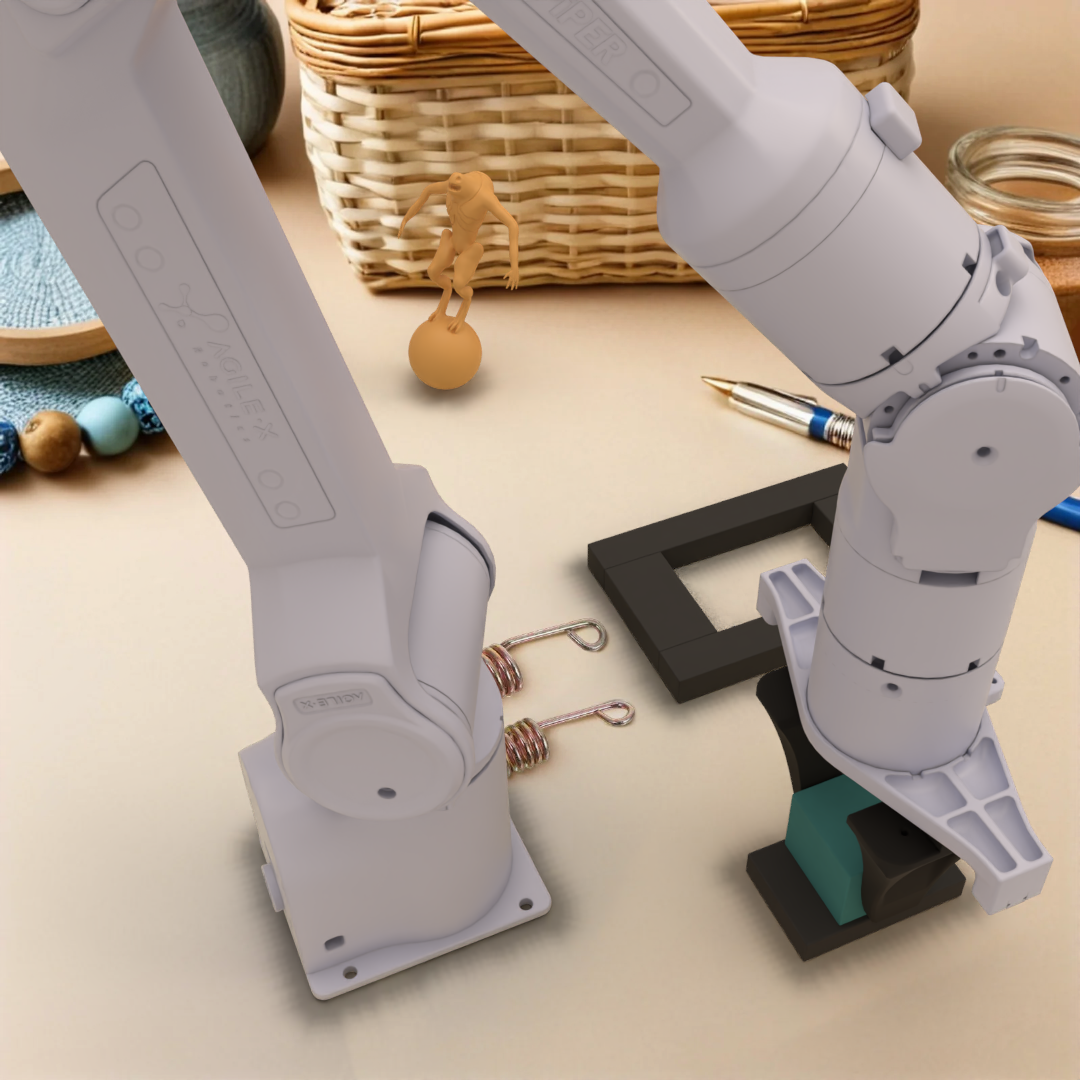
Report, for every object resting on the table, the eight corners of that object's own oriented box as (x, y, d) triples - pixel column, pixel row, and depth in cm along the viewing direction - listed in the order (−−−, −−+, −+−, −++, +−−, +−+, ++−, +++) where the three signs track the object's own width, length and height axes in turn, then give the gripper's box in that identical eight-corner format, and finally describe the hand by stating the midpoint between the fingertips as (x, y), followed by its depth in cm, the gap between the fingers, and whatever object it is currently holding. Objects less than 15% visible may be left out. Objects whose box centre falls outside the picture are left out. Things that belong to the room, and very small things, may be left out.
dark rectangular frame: (678, 704, 63) (679, 681, 62) (587, 566, 69) (586, 543, 68) (949, 607, 67) (955, 584, 66) (840, 484, 73) (843, 461, 72)
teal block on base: (803, 963, 54) (816, 897, 51) (744, 870, 57) (753, 803, 54) (962, 896, 56) (983, 828, 52) (897, 810, 58) (914, 741, 55)
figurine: (368, 370, 81) (343, 177, 72) (442, 321, 84) (426, 131, 76) (479, 429, 77) (466, 231, 68) (552, 375, 80) (548, 180, 72)
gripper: (1174, 734, 42) (1067, 979, 51) (892, 443, 52) (846, 693, 61) (969, 818, 40) (897, 1056, 49) (716, 498, 50) (696, 748, 59)
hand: (858, 860), depth 55 cm, fingers closed on teal block on base, 4 cm apart
